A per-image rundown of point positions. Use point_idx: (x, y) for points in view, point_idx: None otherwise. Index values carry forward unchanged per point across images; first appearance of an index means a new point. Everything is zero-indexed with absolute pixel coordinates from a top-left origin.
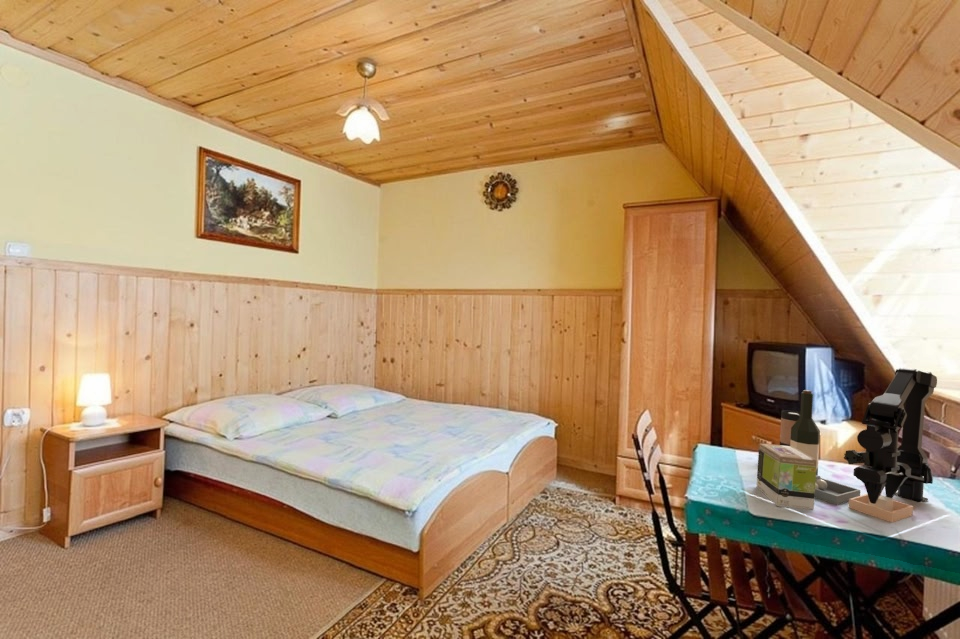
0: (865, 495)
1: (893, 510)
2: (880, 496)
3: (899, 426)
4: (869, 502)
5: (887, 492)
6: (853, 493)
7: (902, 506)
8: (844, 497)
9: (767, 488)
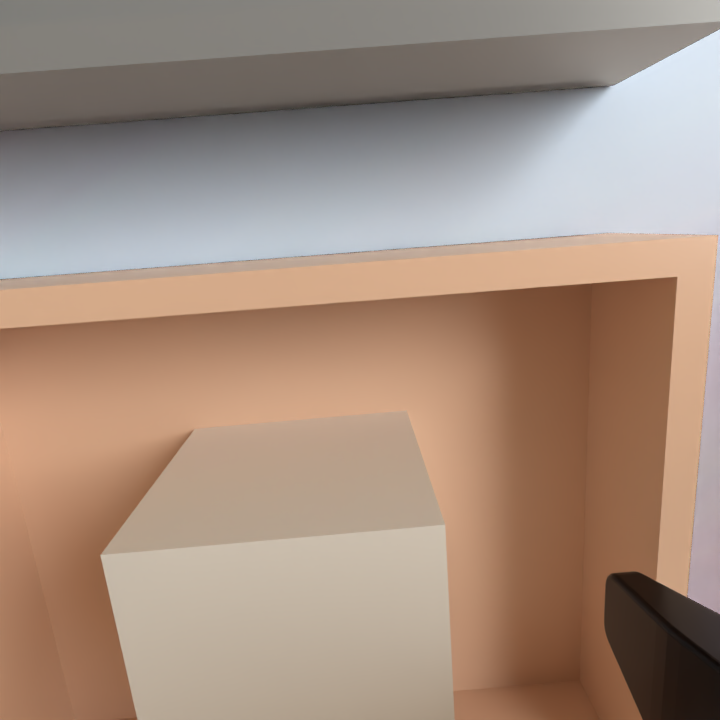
0: (419, 294)
1: (535, 552)
2: (330, 654)
3: None
4: (160, 489)
5: (672, 672)
6: (396, 59)
7: (619, 678)
8: (29, 94)
9: None
